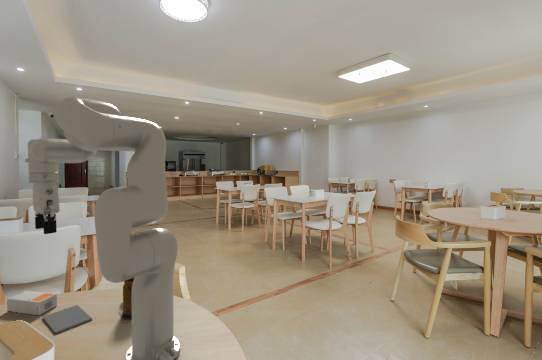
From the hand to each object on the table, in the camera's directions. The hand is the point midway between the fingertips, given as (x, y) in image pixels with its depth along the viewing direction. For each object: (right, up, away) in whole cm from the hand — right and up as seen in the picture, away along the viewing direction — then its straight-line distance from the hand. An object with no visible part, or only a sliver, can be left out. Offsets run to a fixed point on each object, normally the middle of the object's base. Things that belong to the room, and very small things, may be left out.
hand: (45, 230), depth 92 cm
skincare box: (+4, -23, -3) cm, 23 cm away
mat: (+13, -25, -8) cm, 29 cm away
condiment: (+31, -26, -3) cm, 40 cm away
